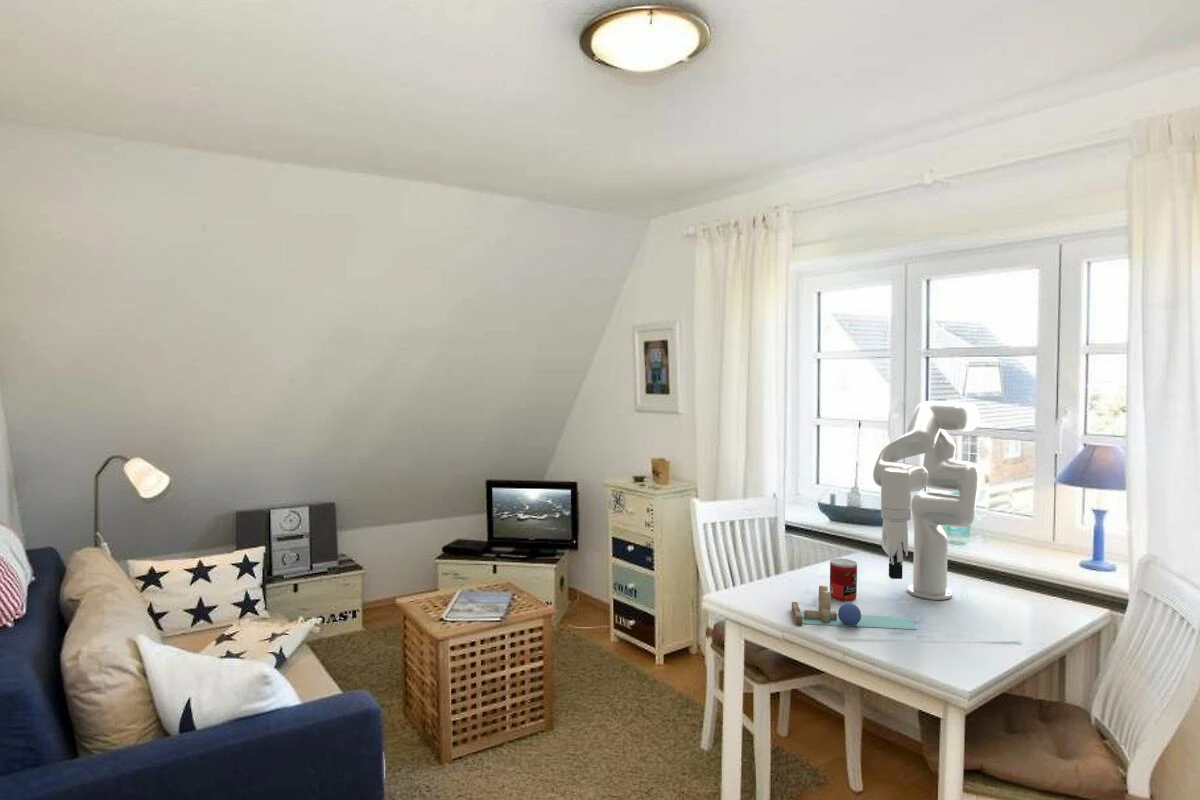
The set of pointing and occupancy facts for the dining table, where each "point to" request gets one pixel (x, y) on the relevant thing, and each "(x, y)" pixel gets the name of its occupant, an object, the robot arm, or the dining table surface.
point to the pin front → (818, 614)
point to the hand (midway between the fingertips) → (895, 577)
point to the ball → (849, 614)
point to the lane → (869, 622)
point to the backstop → (797, 613)
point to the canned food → (843, 579)
